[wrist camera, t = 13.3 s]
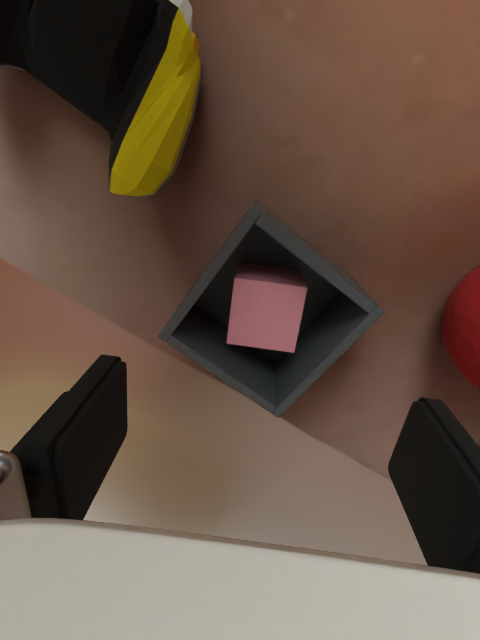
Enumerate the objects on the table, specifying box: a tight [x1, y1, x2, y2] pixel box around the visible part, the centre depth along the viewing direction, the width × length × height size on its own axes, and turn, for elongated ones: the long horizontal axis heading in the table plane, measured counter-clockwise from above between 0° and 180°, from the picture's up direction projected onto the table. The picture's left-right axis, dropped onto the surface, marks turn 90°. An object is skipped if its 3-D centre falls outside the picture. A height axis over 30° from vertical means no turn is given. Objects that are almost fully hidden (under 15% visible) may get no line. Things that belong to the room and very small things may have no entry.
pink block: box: [227, 262, 308, 353], centre depth 23 cm, size 4×4×4 cm
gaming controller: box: [0, 0, 202, 198], centre depth 18 cm, size 15×6×10 cm
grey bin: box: [158, 201, 384, 418], centre depth 23 cm, size 9×9×6 cm
